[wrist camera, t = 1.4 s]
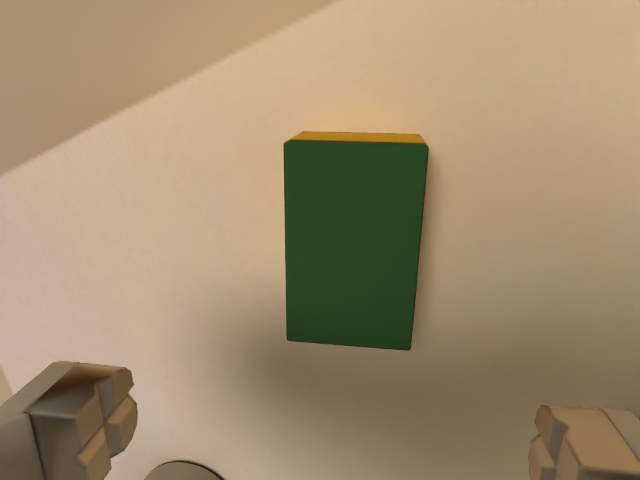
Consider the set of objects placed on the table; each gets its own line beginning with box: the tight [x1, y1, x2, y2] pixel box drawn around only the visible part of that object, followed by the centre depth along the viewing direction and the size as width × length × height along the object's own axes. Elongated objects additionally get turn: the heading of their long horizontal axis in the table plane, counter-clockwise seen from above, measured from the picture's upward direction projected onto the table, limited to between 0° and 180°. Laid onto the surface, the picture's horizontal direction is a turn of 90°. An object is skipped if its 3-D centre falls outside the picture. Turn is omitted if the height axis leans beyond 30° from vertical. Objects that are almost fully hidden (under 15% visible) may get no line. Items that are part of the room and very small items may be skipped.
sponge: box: [284, 131, 429, 351], centre depth 19 cm, size 8×5×4 cm, turn 179°
